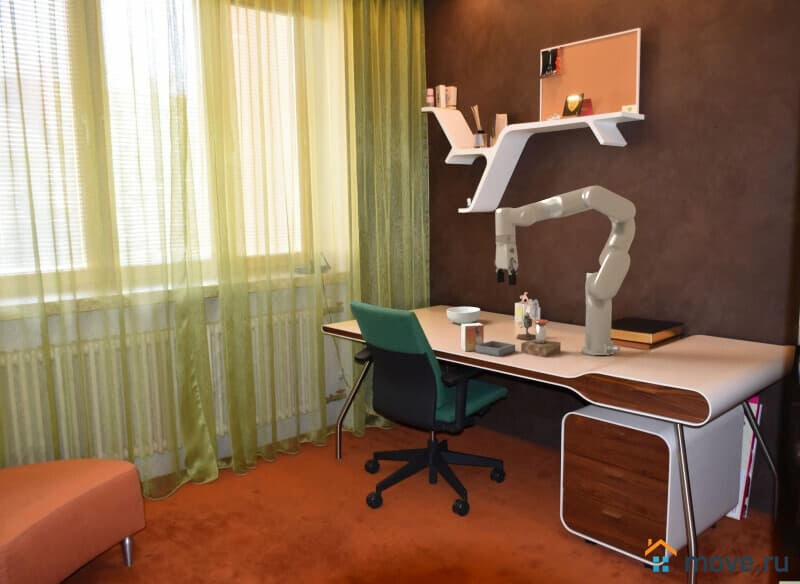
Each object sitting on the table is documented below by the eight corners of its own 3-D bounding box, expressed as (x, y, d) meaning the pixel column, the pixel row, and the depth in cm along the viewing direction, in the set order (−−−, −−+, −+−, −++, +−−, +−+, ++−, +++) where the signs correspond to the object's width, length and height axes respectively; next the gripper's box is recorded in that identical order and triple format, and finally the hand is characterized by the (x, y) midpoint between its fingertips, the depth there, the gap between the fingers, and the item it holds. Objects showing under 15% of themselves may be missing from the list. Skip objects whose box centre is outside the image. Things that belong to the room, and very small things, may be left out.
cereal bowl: (444, 320, 330) (444, 306, 329) (477, 319, 331) (477, 306, 330) (449, 327, 314) (449, 312, 313) (483, 326, 314) (483, 311, 314)
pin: (550, 352, 258) (550, 320, 256) (542, 354, 254) (543, 322, 252) (538, 350, 261) (539, 319, 259) (531, 352, 258) (531, 320, 256)
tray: (515, 351, 260) (515, 344, 259) (498, 356, 252) (498, 349, 251) (492, 347, 267) (492, 340, 267) (475, 352, 259) (475, 345, 259)
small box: (464, 351, 261) (464, 326, 260) (460, 348, 267) (460, 323, 265) (483, 350, 263) (483, 324, 262) (479, 347, 268) (479, 322, 267)
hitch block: (560, 352, 258) (560, 342, 257) (545, 357, 250) (545, 346, 249) (536, 348, 265) (536, 338, 265) (521, 352, 257) (521, 343, 257)
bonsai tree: (518, 335, 291) (518, 308, 290) (539, 336, 289) (540, 309, 287) (515, 340, 281) (516, 313, 279) (537, 341, 278) (538, 313, 277)
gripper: (525, 240, 245) (526, 285, 248) (503, 238, 262) (504, 280, 264) (507, 241, 243) (508, 286, 245) (486, 239, 259) (487, 282, 262)
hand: (506, 283), depth 255 cm, fingers open, 9 cm apart
